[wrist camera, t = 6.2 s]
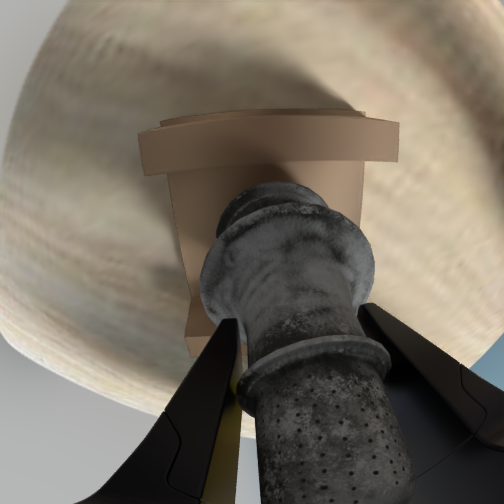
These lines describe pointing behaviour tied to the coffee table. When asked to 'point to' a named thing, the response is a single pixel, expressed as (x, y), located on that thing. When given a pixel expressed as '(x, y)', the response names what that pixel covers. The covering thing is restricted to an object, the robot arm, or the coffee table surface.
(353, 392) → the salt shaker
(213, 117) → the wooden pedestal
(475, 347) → the coffee table surface
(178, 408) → the robot arm
